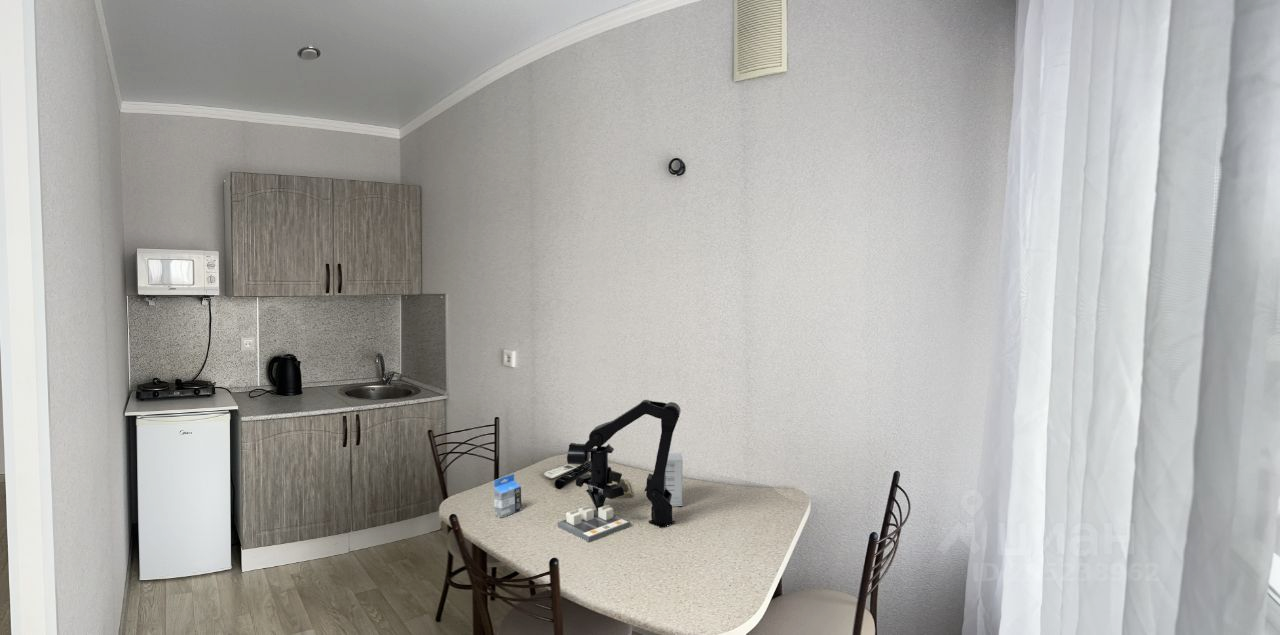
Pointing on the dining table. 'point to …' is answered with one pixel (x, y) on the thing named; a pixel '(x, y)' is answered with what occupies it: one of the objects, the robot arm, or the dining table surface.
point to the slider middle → (587, 513)
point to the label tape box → (507, 496)
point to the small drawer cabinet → (674, 478)
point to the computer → (626, 487)
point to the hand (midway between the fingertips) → (599, 511)
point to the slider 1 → (574, 517)
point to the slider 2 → (605, 512)
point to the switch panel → (595, 527)
